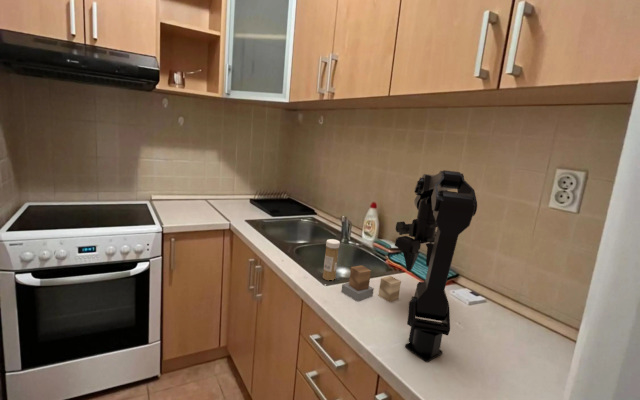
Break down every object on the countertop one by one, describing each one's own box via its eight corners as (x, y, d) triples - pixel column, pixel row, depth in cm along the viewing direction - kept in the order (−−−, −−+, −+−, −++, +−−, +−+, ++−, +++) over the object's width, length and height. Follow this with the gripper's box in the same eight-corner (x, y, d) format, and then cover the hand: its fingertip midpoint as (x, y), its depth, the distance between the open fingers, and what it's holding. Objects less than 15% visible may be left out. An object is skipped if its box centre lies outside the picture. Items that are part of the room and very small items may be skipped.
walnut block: (368, 288, 107) (371, 270, 106) (357, 291, 104) (360, 272, 103) (359, 282, 110) (361, 265, 109) (348, 284, 108) (351, 267, 107)
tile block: (372, 297, 108) (373, 288, 107) (357, 302, 103) (358, 293, 103) (356, 288, 113) (357, 279, 112) (341, 293, 108) (342, 284, 108)
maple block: (398, 299, 108) (401, 281, 107) (388, 302, 105) (391, 283, 104) (387, 292, 111) (390, 275, 110) (378, 295, 108) (380, 278, 107)
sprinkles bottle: (338, 279, 117) (342, 242, 114) (327, 282, 114) (331, 243, 112) (330, 274, 120) (334, 238, 118) (319, 276, 118) (323, 239, 115)
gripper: (423, 209, 111) (416, 254, 114) (384, 212, 100) (377, 263, 103) (454, 218, 102) (445, 267, 105) (415, 223, 91) (406, 278, 94)
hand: (418, 268), depth 102 cm, fingers open, 9 cm apart
